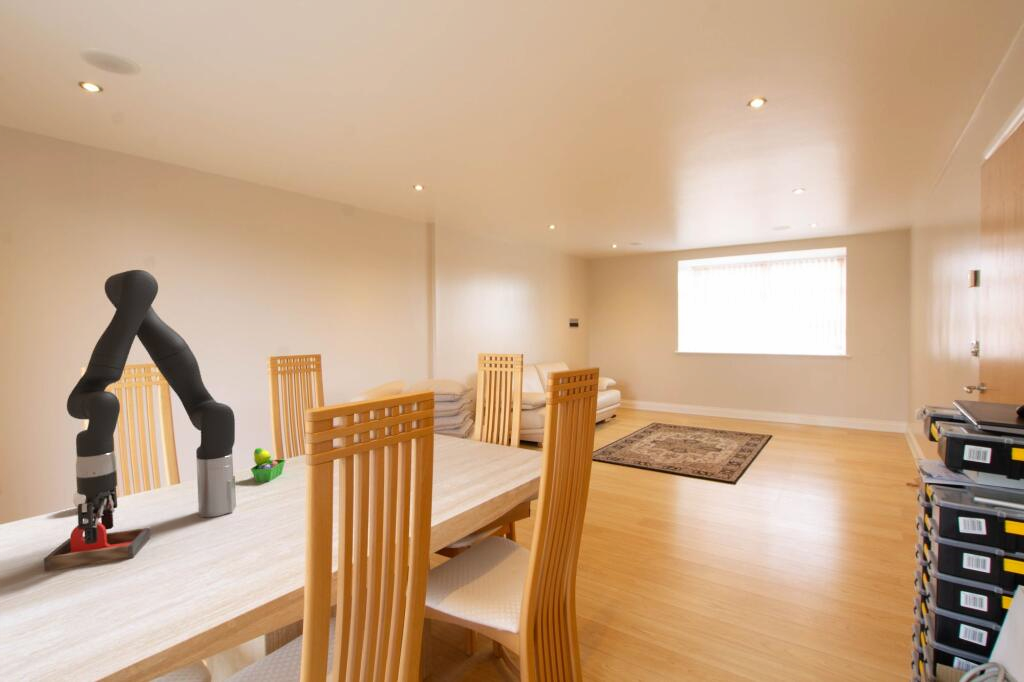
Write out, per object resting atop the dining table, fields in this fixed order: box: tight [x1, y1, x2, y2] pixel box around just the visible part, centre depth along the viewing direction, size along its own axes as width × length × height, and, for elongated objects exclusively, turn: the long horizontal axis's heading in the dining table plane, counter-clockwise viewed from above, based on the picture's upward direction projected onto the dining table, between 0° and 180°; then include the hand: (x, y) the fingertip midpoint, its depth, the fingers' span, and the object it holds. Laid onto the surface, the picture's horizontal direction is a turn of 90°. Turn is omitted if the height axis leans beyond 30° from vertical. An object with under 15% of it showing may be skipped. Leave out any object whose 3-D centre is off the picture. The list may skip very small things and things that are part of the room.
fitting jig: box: [43, 527, 151, 572], centre depth 119 cm, size 17×11×3 cm, turn 110°
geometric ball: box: [72, 490, 86, 509], centre depth 149 cm, size 8×8×8 cm
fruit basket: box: [250, 447, 286, 483], centre depth 176 cm, size 11×9×11 cm
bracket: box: [69, 521, 132, 553], centre depth 117 cm, size 12×4×8 cm, turn 108°
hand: (99, 535), depth 119 cm, fingers open, 8 cm apart
